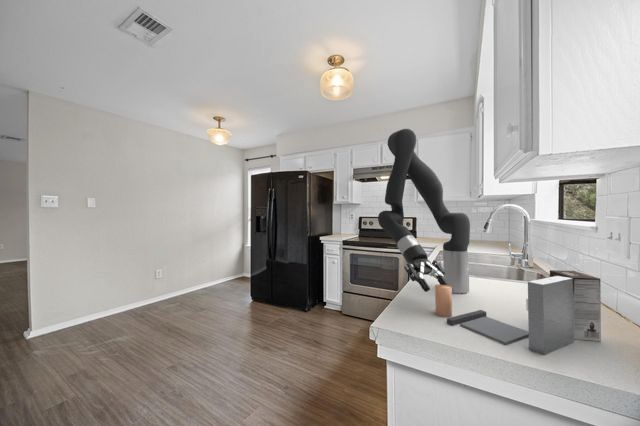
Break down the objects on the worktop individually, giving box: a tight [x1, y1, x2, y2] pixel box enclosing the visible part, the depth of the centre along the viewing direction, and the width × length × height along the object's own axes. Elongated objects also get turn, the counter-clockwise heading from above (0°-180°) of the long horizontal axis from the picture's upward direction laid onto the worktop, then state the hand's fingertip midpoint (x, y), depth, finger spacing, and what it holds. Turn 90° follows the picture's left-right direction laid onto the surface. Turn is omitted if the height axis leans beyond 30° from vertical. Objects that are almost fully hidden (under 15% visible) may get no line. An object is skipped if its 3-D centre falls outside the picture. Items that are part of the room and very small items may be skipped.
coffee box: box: [549, 269, 602, 342], centre depth 68 cm, size 9×6×16 cm
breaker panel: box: [525, 276, 575, 356], centre depth 62 cm, size 14×4×16 cm, turn 115°
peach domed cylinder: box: [434, 284, 453, 318], centre depth 81 cm, size 5×5×9 cm
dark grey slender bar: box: [446, 309, 487, 327], centre depth 77 cm, size 16×2×2 cm, turn 115°
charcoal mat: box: [459, 316, 529, 346], centre depth 70 cm, size 12×12×1 cm
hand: (437, 289), depth 83 cm, fingers open, 8 cm apart
